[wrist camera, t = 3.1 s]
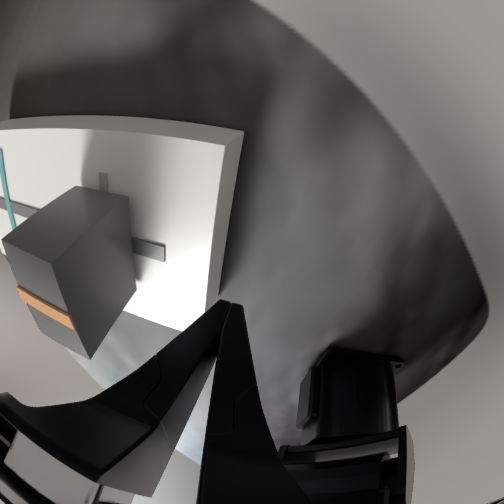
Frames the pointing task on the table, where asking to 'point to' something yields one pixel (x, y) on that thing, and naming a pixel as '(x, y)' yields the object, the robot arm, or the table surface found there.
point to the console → (135, 196)
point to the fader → (75, 266)
